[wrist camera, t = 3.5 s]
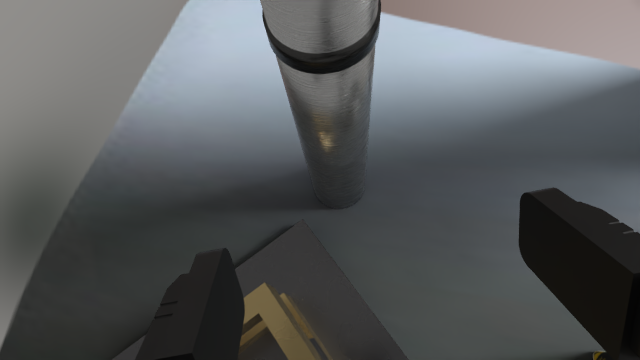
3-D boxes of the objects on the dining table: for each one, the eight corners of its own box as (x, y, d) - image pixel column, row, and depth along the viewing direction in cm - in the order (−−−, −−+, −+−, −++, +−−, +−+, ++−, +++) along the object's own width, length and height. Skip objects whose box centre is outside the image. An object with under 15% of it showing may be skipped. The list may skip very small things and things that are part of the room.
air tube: (343, 149, 32) (329, -109, 13) (377, 188, 30) (414, -40, 12) (301, 180, 31) (223, -47, 12) (334, 220, 30) (300, 35, 11)
